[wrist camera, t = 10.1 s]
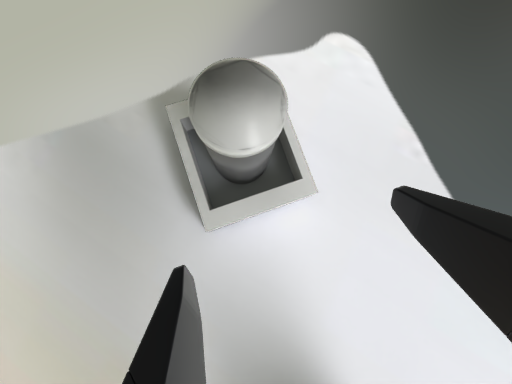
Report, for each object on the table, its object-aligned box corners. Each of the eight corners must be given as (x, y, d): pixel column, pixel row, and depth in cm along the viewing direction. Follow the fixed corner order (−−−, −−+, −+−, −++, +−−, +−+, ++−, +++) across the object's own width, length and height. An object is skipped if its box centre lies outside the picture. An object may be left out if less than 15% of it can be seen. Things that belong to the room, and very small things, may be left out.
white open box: (309, 196, 23) (320, 191, 20) (209, 231, 22) (203, 232, 19) (270, 94, 24) (274, 73, 21) (174, 124, 24) (162, 106, 20)
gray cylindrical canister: (256, 193, 22) (265, 167, 12) (204, 171, 22) (170, 128, 12) (277, 143, 23) (302, 80, 13) (226, 122, 23) (212, 43, 13)
